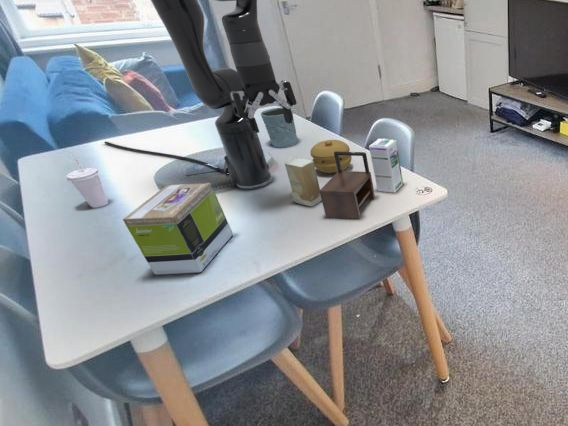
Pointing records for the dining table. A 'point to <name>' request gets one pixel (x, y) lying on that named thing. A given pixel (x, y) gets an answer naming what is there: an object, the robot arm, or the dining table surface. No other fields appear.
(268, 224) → the dining table surface
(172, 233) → the tea box
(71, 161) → the dining table surface
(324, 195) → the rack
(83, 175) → the smoothie
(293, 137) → the blue-grey planter
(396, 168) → the syrup box
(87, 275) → the dining table surface
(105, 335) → the dining table surface
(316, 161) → the pot
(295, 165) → the cosmetic box
